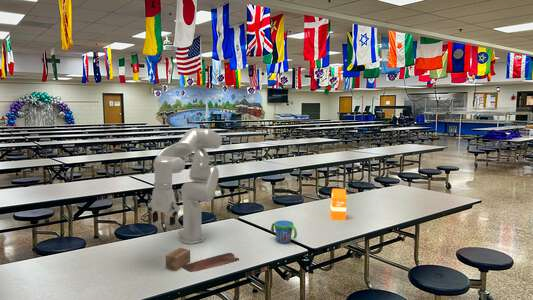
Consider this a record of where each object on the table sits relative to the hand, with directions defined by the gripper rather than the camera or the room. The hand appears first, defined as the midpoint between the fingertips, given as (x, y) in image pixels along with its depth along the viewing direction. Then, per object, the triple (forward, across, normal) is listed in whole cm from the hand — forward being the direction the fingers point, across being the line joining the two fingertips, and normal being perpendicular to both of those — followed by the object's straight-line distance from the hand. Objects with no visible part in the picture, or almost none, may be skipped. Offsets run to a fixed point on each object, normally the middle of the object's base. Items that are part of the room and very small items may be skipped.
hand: (163, 223), depth 164 cm
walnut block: (+19, +8, 0) cm, 20 cm away
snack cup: (+18, +41, +48) cm, 66 cm away
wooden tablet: (+19, +20, +8) cm, 29 cm away
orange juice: (+18, +60, +102) cm, 120 cm away
